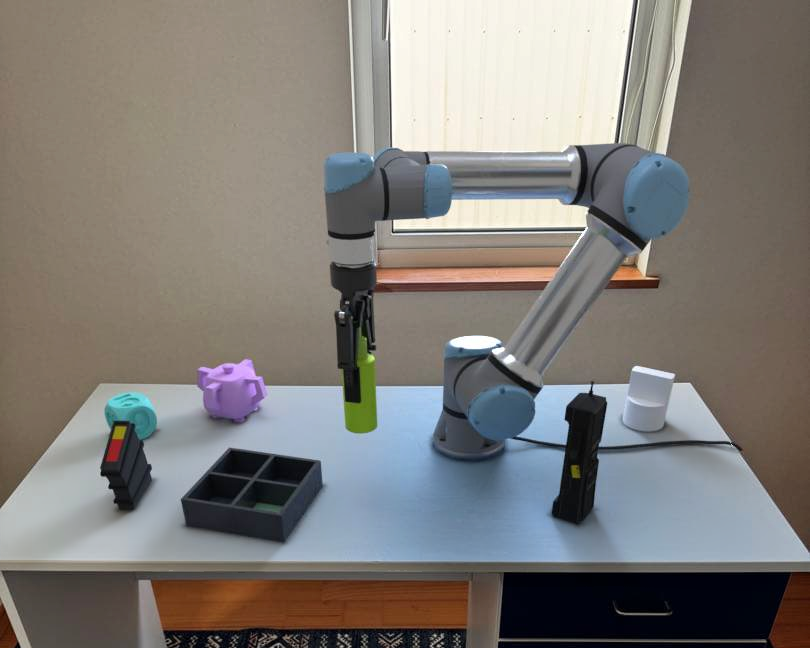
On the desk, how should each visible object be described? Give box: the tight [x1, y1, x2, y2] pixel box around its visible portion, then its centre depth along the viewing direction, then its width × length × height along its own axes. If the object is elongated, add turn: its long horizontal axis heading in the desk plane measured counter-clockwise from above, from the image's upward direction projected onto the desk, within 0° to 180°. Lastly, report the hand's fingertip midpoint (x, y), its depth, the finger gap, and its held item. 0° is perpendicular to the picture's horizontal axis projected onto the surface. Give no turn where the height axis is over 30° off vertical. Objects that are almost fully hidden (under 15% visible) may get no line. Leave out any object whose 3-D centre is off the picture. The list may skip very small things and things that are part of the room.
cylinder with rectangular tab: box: [622, 365, 676, 433], centre depth 166 cm, size 9×9×12 cm
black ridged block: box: [99, 421, 153, 510], centre depth 143 cm, size 4×13×15 cm
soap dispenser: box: [341, 319, 378, 434], centre depth 133 cm, size 6×7×20 cm
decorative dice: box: [103, 391, 158, 441], centre depth 164 cm, size 8×8×8 cm
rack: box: [180, 446, 324, 543], centre depth 142 cm, size 19×19×6 cm
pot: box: [196, 358, 268, 423], centre depth 171 cm, size 18×17×12 cm
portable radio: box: [551, 380, 608, 525], centre depth 133 cm, size 8×6×25 cm
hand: (359, 393), depth 135 cm, fingers closed on soap dispenser, 6 cm apart
